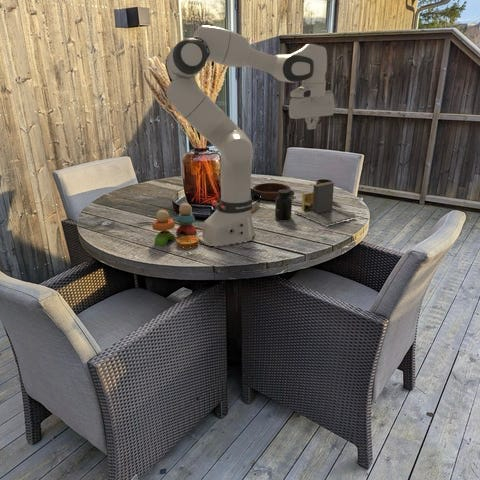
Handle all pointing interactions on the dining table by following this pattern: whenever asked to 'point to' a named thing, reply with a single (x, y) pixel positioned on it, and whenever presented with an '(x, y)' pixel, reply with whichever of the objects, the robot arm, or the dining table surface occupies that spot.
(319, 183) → the mug
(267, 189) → the dish
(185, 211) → the wooden stacking toy
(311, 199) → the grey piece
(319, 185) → the gray rectangular block
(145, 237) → the dining table surface
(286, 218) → the supplement bottle
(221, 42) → the robot arm
